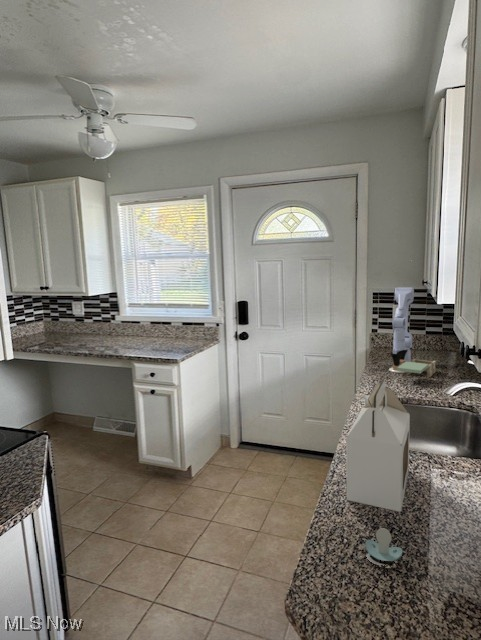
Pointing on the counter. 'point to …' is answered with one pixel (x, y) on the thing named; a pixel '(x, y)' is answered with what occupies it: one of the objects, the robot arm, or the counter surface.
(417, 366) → the lid
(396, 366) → the block
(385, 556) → the pacifier
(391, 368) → the plate
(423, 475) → the counter surface
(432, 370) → the cubby
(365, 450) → the gable box
